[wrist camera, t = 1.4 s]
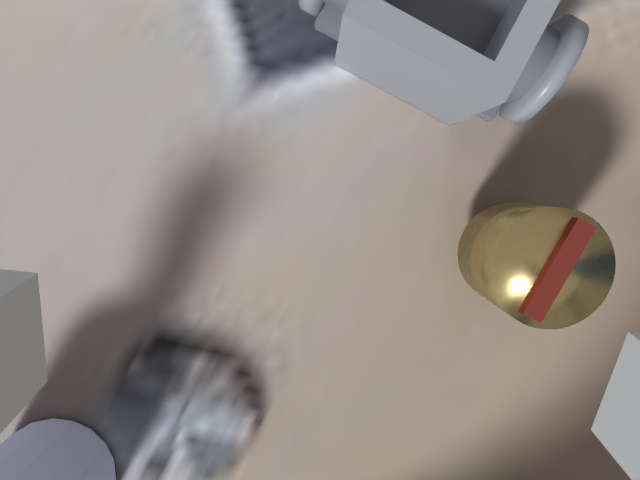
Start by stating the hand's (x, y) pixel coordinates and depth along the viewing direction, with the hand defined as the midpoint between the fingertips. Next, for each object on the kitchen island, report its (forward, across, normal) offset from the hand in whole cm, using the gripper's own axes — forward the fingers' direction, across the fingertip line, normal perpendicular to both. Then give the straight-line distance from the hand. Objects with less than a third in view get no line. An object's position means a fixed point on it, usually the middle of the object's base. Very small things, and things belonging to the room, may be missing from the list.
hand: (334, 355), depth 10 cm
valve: (+23, -14, +4) cm, 27 cm away
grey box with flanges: (+26, -6, -10) cm, 28 cm away
